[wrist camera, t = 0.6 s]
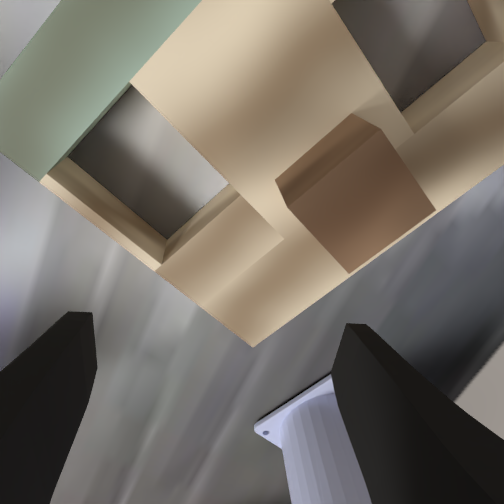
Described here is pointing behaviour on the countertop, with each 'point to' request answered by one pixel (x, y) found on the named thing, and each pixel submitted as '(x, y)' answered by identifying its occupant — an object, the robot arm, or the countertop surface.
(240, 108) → the trap board
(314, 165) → the walnut block
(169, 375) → the countertop surface
